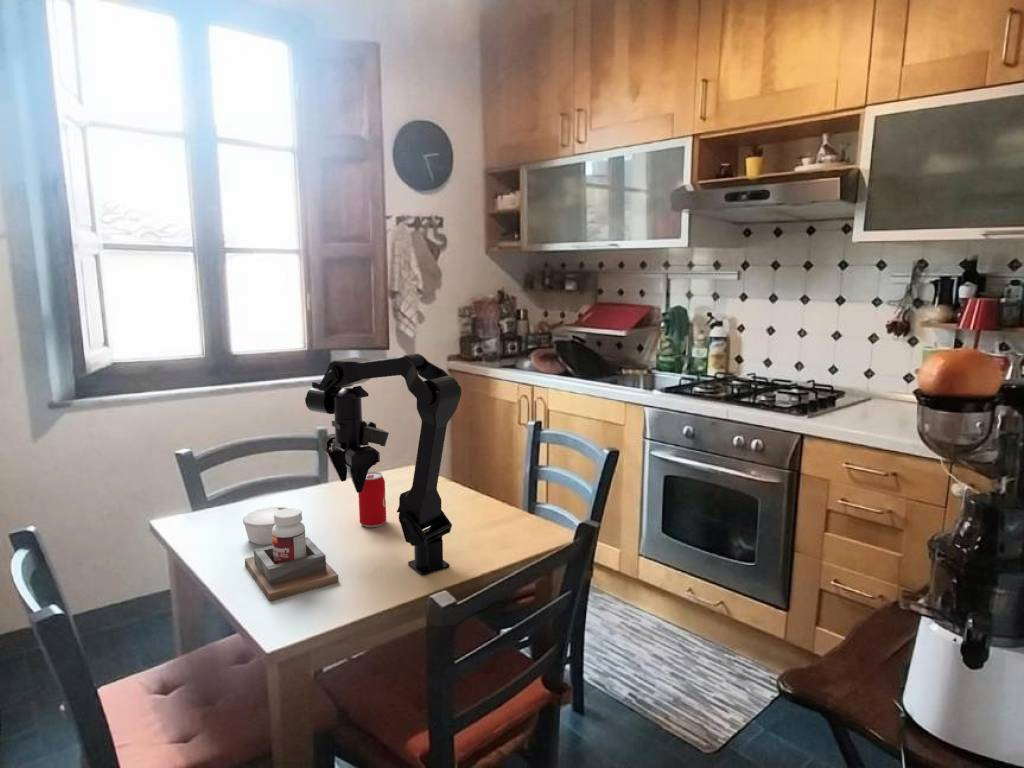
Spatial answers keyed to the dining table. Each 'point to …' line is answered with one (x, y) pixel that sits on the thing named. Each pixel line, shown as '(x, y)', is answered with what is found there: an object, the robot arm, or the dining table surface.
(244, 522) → the ramekin
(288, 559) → the pill bottle
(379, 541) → the dining table surface
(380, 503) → the beverage can
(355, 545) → the dining table surface
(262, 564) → the socket board
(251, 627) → the dining table surface
